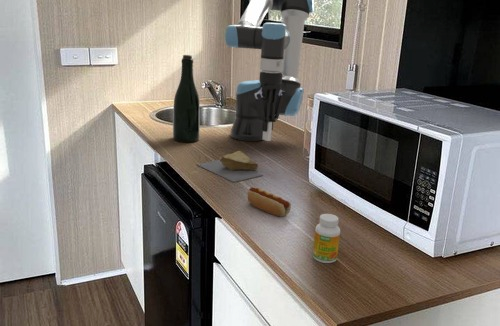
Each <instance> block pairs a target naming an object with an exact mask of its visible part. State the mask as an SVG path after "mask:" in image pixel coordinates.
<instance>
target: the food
mask: <svg viewBox="0 0 500 326" xmlns="http://www.w3.org/2000/svg"><path fill="white" fill-rule="evenodd" d="M246 194H247V195H246V197H247V201H248V202H249V203H250V204H251V205H252V206H254V207H255V208H257V209H258V210H261V211H263V212H265V213H268V214H269V215H273V216H277V217H281V218H282V217H284V216H287V215H288V214H289V213H290V212H291V207H292V203H291V202H290V201H289V200H286V199H283V197H280V196H276V195H275V194H273V193H270V192H268V191H267V190H262V189H260V188H259V187H257V186H256V187H254V186H253V187H250V188H249V189H248V190H247V191H246Z"/></svg>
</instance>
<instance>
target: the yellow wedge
mask: <svg viewBox="0 0 500 326" xmlns="http://www.w3.org/2000/svg"><path fill="white" fill-rule="evenodd" d="M219 160H220V161H221V162H222V164H223V165H224V166H225V167H227V168H228V169H230V170H232V171H233V170H241V169H244V170H253V171H256V170H258V167H259V164H258V163H257V162H256V161H254V160H253V158H250V157H249V156H248V155H247V154H246V153H244V152H242V150H237V151H235V152H233V153H228V154H226V155H224V156H222V157H221V158H220V159H219Z"/></svg>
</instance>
